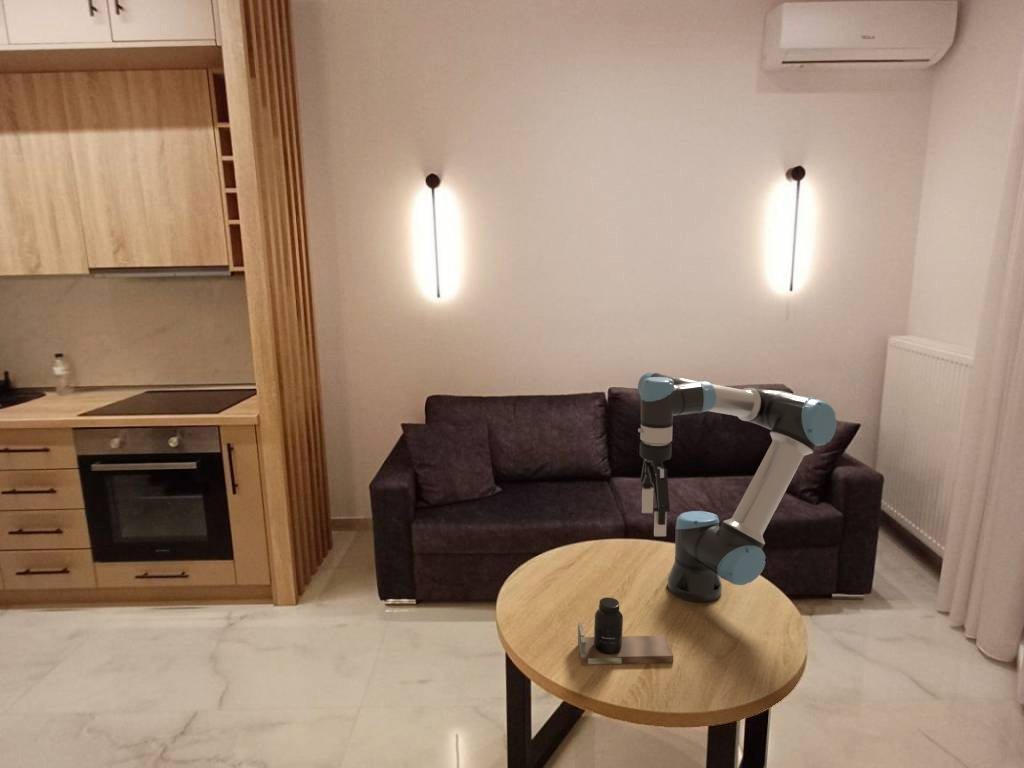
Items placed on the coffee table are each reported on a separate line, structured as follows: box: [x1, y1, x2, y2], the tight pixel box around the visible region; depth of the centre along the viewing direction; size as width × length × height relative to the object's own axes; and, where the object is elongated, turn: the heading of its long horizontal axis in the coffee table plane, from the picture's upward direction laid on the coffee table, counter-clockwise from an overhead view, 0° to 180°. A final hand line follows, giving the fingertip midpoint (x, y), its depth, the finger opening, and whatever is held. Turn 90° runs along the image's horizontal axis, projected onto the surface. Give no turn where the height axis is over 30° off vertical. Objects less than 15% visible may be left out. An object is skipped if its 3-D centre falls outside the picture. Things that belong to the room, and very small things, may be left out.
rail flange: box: [577, 622, 674, 666], centre depth 150 cm, size 22×8×6 cm, turn 90°
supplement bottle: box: [593, 597, 624, 654], centre depth 149 cm, size 7×7×12 cm
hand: (653, 523), depth 152 cm, fingers open, 13 cm apart
